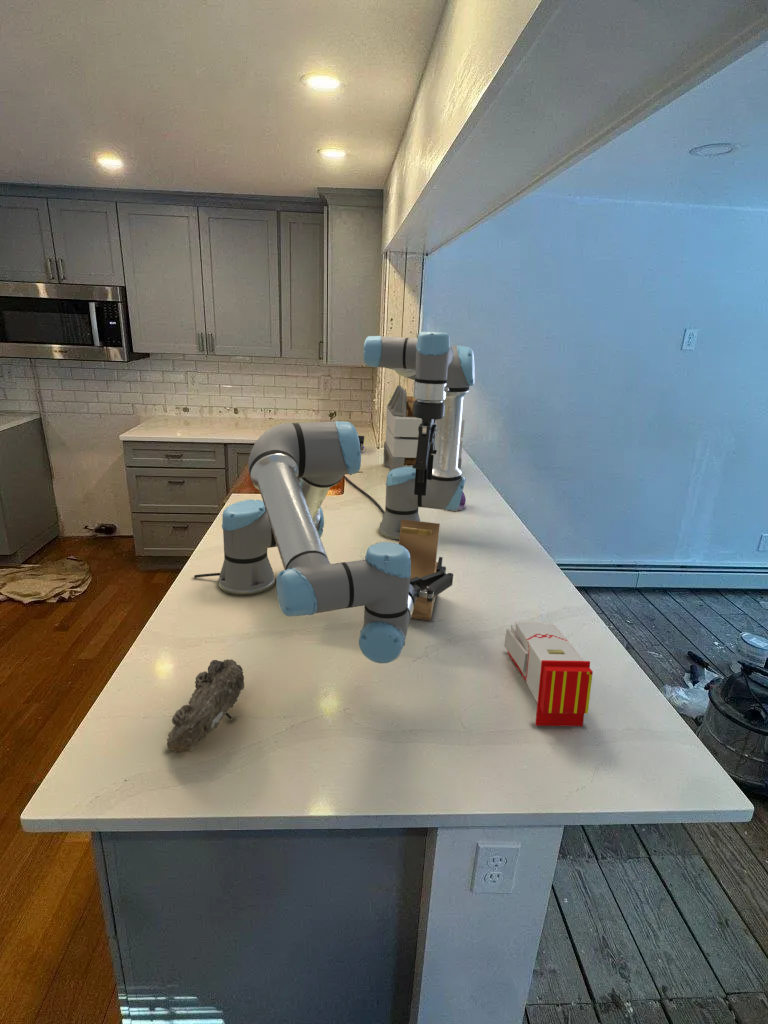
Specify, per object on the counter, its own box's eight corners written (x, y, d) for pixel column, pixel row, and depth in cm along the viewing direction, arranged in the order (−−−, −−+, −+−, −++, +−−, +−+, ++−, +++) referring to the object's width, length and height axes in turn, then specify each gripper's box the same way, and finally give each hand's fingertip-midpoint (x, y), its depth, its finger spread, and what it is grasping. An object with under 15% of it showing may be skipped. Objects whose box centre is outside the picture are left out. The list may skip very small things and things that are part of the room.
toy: (550, 607, 134) (601, 667, 105) (545, 659, 137) (594, 732, 108) (499, 606, 134) (537, 666, 104) (495, 659, 137) (530, 731, 107)
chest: (401, 590, 160) (403, 558, 157) (436, 594, 158) (438, 562, 155) (393, 615, 147) (395, 581, 143) (430, 620, 145) (433, 585, 142)
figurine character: (364, 456, 305) (364, 447, 319) (364, 443, 302) (364, 434, 315) (351, 456, 305) (352, 446, 318) (351, 443, 302) (352, 434, 315)
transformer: (382, 463, 289) (386, 382, 275) (445, 464, 293) (451, 384, 279) (390, 482, 257) (394, 392, 243) (460, 483, 261) (468, 394, 247)
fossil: (192, 660, 117) (244, 628, 112) (224, 691, 120) (276, 661, 115) (142, 746, 98) (202, 712, 93) (182, 779, 101) (242, 748, 96)
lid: (401, 519, 144) (397, 519, 135) (439, 523, 142) (437, 523, 134) (395, 578, 144) (390, 581, 135) (433, 583, 142) (431, 586, 134)
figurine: (452, 513, 222) (455, 476, 217) (438, 505, 231) (441, 469, 226) (471, 510, 227) (475, 474, 221) (457, 502, 235) (460, 467, 230)
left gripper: (331, 612, 111) (356, 567, 131) (458, 629, 107) (464, 580, 127) (331, 578, 109) (356, 537, 128) (461, 594, 105) (467, 550, 125)
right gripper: (440, 410, 121) (433, 503, 129) (449, 394, 145) (442, 474, 152) (405, 407, 123) (400, 500, 130) (420, 392, 146) (415, 472, 153)
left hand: (410, 559), depth 128 cm, fingers open, 13 cm apart
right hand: (423, 486), depth 141 cm, fingers open, 13 cm apart
